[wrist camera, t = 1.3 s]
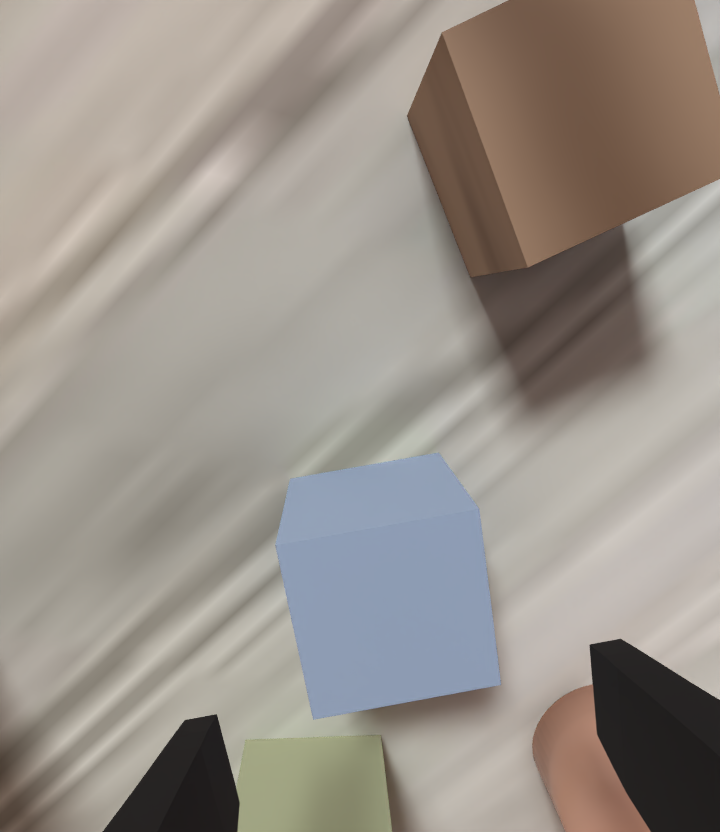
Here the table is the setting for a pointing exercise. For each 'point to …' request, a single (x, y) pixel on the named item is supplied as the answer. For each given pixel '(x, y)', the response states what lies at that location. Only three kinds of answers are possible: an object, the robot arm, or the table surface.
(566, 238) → the walnut cube
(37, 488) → the table surface
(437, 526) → the slate blue cube
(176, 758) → the robot arm
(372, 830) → the olive cube
